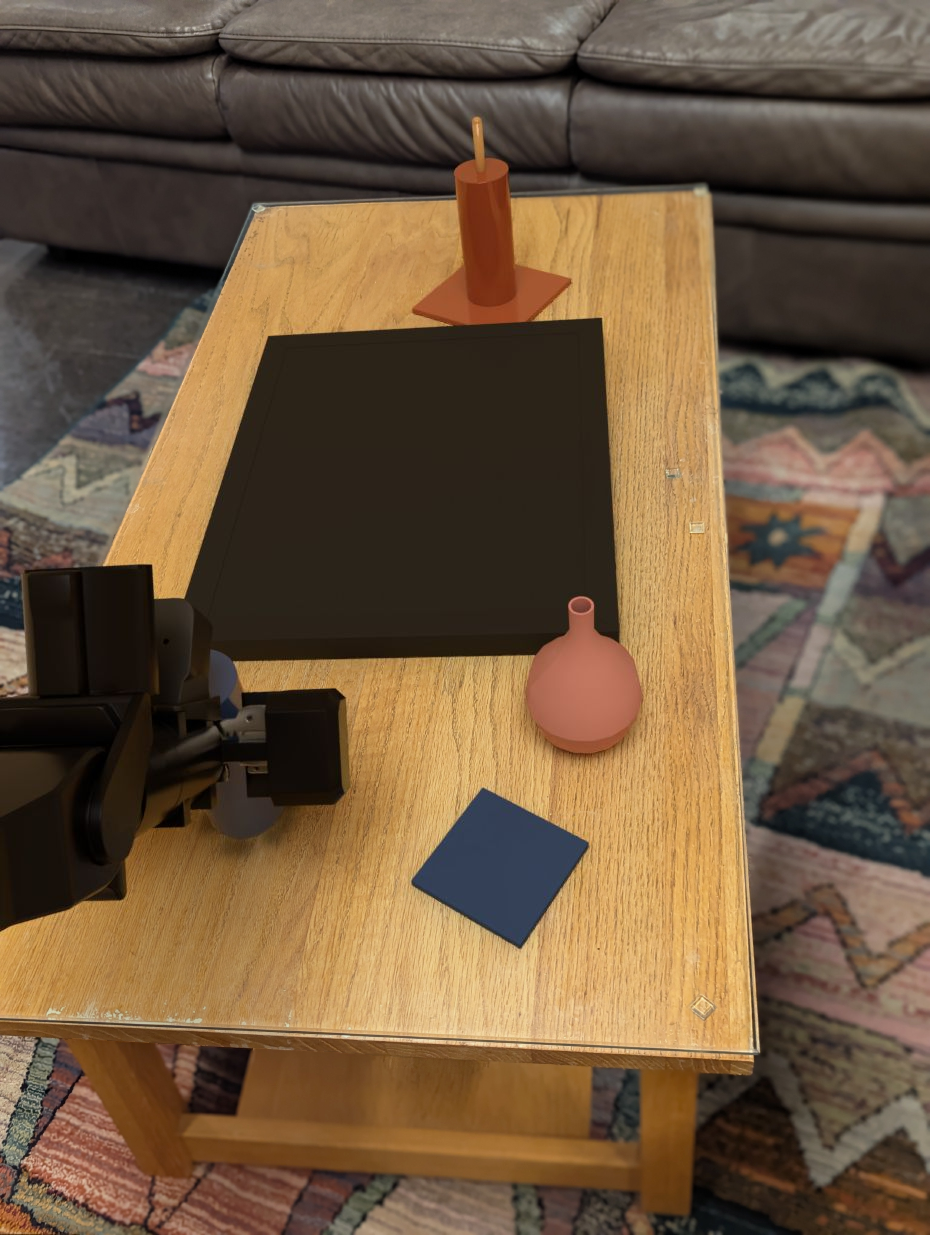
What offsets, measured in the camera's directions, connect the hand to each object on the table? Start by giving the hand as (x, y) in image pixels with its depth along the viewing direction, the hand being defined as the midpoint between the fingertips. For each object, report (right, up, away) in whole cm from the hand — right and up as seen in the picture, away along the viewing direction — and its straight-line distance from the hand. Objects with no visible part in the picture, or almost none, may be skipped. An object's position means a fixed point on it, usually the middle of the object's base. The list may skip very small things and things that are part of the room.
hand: (226, 729), depth 68 cm
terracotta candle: (+18, +41, +44) cm, 62 cm away
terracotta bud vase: (+23, 0, +6) cm, 24 cm away
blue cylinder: (+1, -5, +4) cm, 7 cm away
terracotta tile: (+18, +40, +44) cm, 62 cm away
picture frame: (+11, +19, +25) cm, 33 cm away
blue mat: (+17, -8, -1) cm, 19 cm away
